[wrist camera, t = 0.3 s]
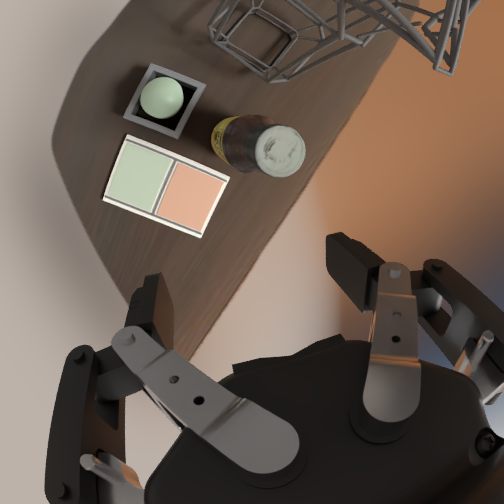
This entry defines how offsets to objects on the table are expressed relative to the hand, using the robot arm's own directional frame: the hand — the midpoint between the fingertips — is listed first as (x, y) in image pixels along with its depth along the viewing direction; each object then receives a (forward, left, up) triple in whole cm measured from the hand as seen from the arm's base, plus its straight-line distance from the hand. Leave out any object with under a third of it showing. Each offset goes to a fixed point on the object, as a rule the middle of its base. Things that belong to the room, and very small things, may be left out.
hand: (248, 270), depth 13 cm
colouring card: (+4, -5, -28) cm, 29 cm away
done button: (-7, -10, -26) cm, 28 cm away
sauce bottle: (-6, +1, -28) cm, 29 cm away
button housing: (-7, -10, -28) cm, 30 cm away
